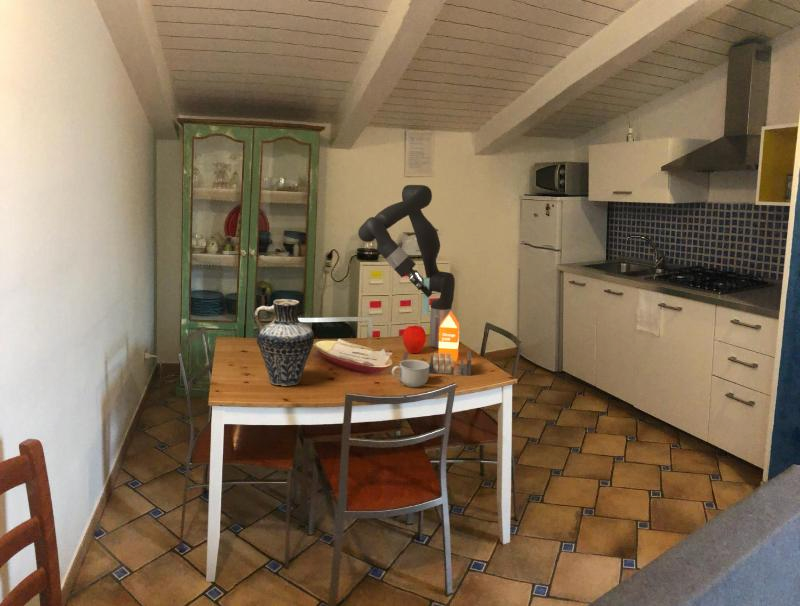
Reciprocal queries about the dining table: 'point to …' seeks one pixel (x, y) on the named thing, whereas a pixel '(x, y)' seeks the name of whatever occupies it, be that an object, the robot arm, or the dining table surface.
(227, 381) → the dining table surface
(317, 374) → the dining table surface
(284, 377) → the jug
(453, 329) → the orange juice
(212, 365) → the dining table surface
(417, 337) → the apple
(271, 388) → the dining table surface
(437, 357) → the offcut
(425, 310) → the teal board
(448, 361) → the offcut
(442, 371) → the offcut
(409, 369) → the teacup
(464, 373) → the rack
